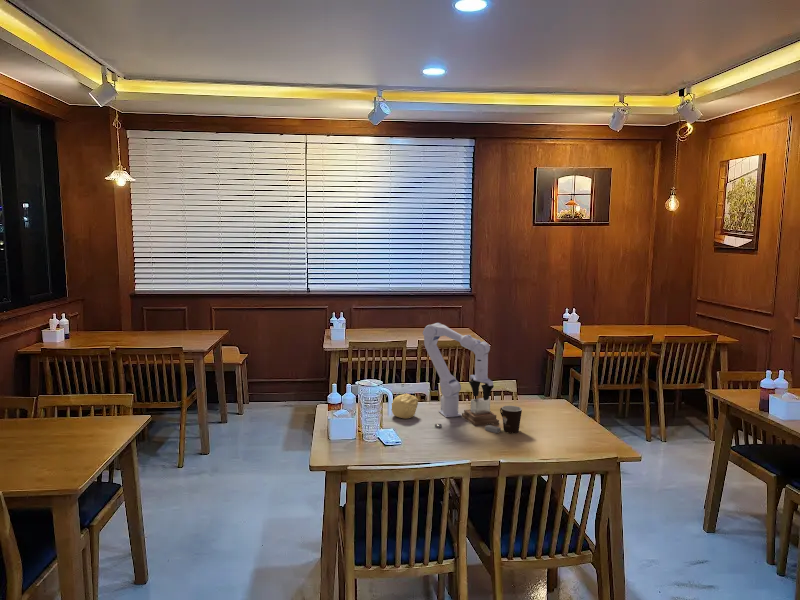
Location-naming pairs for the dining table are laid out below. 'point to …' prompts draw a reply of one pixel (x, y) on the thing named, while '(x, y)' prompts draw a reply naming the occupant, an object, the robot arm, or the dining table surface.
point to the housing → (480, 406)
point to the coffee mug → (511, 418)
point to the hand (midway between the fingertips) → (480, 397)
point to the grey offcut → (492, 428)
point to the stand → (480, 418)
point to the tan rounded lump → (404, 406)
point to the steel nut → (438, 425)
